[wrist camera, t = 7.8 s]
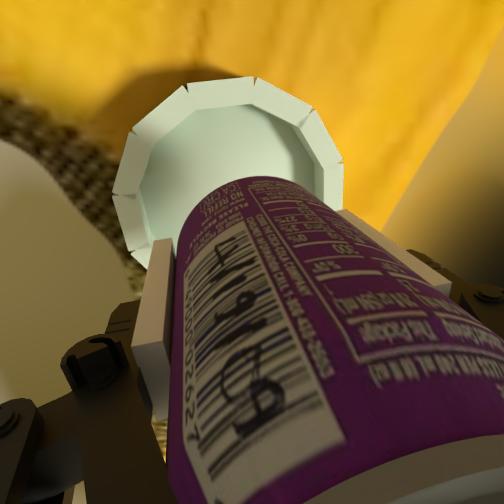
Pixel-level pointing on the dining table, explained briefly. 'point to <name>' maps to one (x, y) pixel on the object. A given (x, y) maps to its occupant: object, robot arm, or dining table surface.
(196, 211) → the beverage can
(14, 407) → the robot arm
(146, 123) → the tray
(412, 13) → the dining table surface
